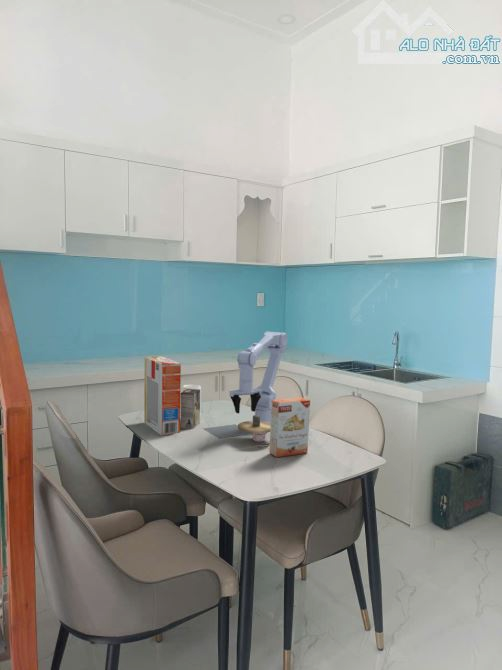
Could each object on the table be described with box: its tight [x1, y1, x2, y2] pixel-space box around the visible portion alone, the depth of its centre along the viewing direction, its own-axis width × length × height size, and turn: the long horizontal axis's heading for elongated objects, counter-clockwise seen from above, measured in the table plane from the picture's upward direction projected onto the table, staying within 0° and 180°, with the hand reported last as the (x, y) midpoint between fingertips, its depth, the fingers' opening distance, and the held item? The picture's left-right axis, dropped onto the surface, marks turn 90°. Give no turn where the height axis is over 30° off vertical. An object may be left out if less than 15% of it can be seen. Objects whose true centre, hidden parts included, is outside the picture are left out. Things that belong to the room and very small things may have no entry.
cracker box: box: [269, 397, 311, 458], centre depth 194 cm, size 14×6×21 cm, turn 117°
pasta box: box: [143, 355, 182, 437], centre depth 224 cm, size 23×8×30 cm, turn 30°
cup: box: [182, 384, 202, 413], centre depth 239 cm, size 8×8×16 cm
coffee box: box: [180, 389, 201, 430], centre depth 228 cm, size 9×6×16 cm
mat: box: [202, 424, 253, 439], centre depth 221 cm, size 16×16×1 cm
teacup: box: [251, 432, 270, 447], centre depth 208 cm, size 12×12×6 cm
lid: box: [237, 414, 271, 433], centre depth 207 cm, size 15×15×5 cm
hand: (245, 412), depth 215 cm, fingers open, 7 cm apart
